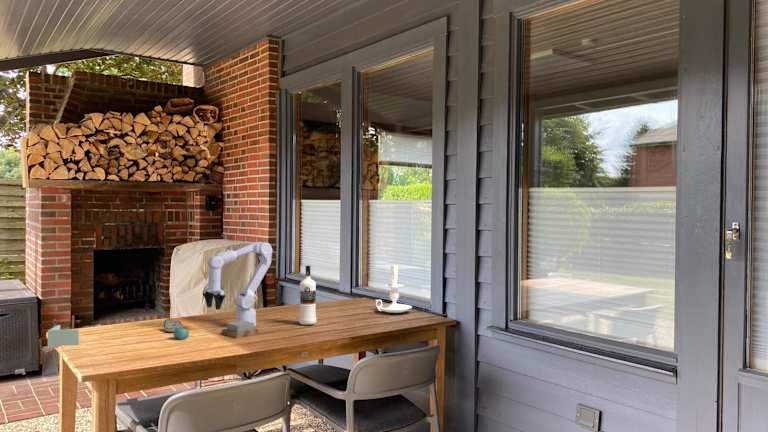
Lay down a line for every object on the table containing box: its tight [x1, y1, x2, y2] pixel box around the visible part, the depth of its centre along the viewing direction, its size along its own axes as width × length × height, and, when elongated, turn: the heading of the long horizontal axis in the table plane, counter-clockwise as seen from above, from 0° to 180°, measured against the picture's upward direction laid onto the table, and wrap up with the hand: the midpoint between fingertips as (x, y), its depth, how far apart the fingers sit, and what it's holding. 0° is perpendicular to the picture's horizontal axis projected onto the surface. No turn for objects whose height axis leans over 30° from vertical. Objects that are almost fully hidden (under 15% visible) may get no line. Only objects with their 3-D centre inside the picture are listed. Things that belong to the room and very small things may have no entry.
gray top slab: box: [226, 320, 255, 332], centre depth 273 cm, size 9×9×3 cm
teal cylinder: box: [172, 328, 190, 341], centre depth 262 cm, size 5×5×5 cm
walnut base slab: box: [221, 327, 259, 339], centre depth 273 cm, size 12×12×3 cm
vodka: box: [298, 265, 318, 326], centre depth 300 cm, size 9×9×30 cm
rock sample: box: [163, 317, 185, 333], centre depth 277 cm, size 10×8×9 cm
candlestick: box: [375, 264, 413, 314], centre depth 333 cm, size 21×25×28 cm
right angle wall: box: [47, 324, 80, 349], centre depth 250 cm, size 12×12×8 cm
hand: (213, 308), depth 283 cm, fingers open, 7 cm apart
